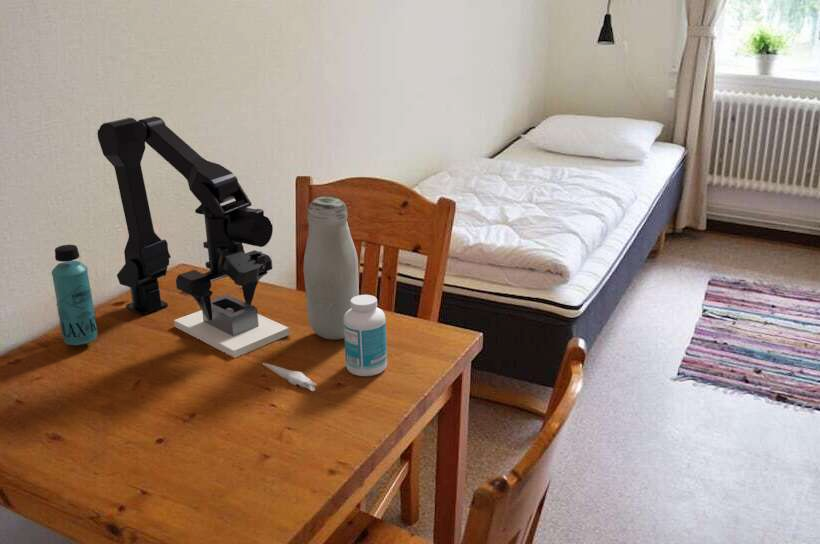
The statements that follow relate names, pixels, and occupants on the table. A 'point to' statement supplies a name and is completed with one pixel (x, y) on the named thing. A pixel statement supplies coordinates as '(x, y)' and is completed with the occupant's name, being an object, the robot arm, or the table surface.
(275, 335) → the keeper board
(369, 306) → the pill bottle
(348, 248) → the glass bottle
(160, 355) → the table surface
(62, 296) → the beverage bottle
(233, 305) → the steel link
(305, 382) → the white elongated figurine
